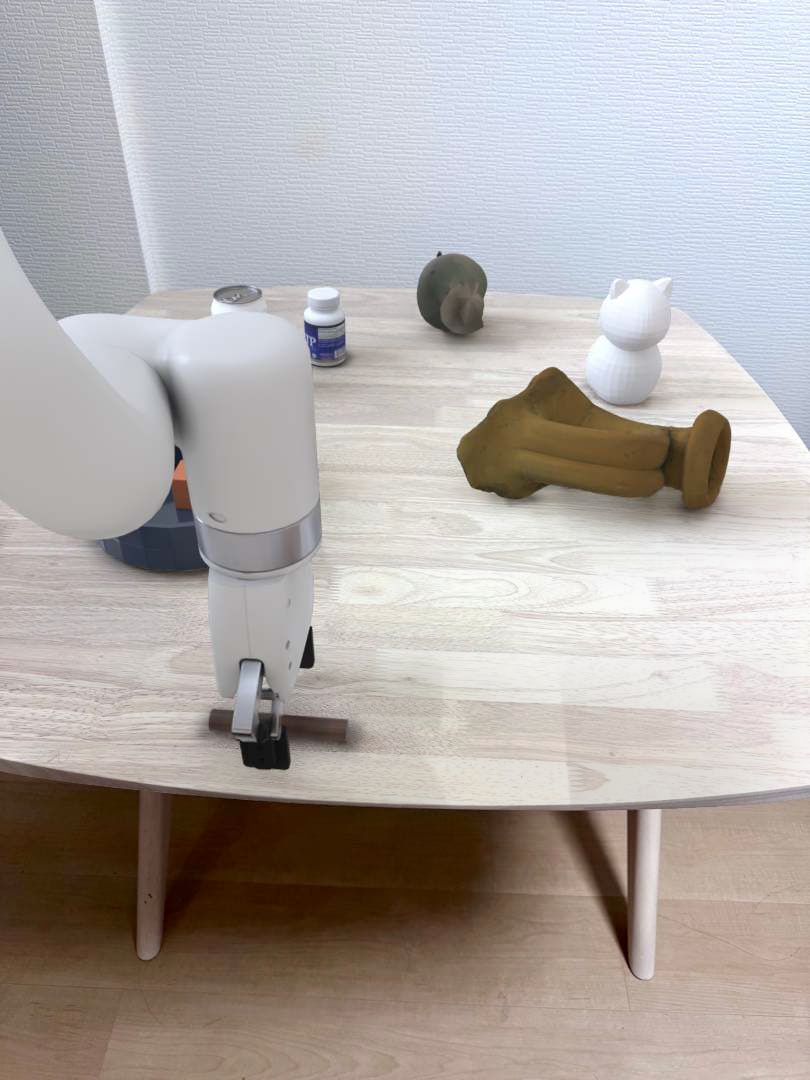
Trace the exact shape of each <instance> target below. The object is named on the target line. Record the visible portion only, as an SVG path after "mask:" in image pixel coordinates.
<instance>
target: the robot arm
mask: <svg viewBox="0 0 810 1080" xmlns="http://www.w3.org/2000/svg"><path fill="white" fill-rule="evenodd" d="M2 229H3V228H2V227H1V226H0V501H2V502H3V503H5V505H7V506H8V507H9V508H11V509H12V510H14V511H15V512H16V513H18V514H19V515H21V516H22V517H24V518H26V519H28V520H29V521H31V522H32V523H34V524H36V525H37V526H40V527H41V528H43V529H45V530H49V531H51V532H54V533H56V534H59V535H61V536H66V537H70V538H73V539H77V540H79V539H80V540H88V541H96V540H99V539H111V538H115V537H118V536H122V535H125V534H127V533H130V532H132V531H134V530H136V529H138V528H139V527H141V526H142V525H143V524H145V523H146V522H147V521H149V520H150V519H151V518H152V517H153V516H154V515H155V514H156V513H157V511H158V510H159V509H160V508H161V506H162V504H163V503H164V501H165V499H166V497H167V495H168V493H169V491H170V487H171V484H172V481H173V476H174V458H175V451H174V444H175V445H176V446H178V447H179V448H180V450H181V452H182V456H183V462H184V468H185V473H186V479H187V484H188V490H189V496H190V501H191V506H192V511H193V517H194V523H195V528H196V534H197V540H198V546H199V552H200V555H201V557H202V559H203V560H204V562H205V563H206V564H207V565H208V566H209V567H210V568H208V580H207V581H208V582H207V607H208V608H207V609H208V624H209V635H210V646H211V653H212V654H211V655H212V662H213V670H214V672H213V673H214V678H215V685H216V691H217V692H218V694H219V696H220V697H221V698H223V699H234V698H235V703H234V709H233V710H234V715H233V721H232V733H231V735H232V736H233V737H234V738H235V740H236V742H238V743H239V747H240V753H241V759H242V764H243V766H245V767H246V768H253V769H256V770H261V771H270V770H277V771H287V770H289V769H290V767H291V763H292V758H291V750H290V749H291V748H290V742H289V741H290V740H289V737H288V731H287V726H284V725H282V714H284V713H283V712H284V701H286V700H287V699H288V698H289V697H290V696H291V695H292V694H293V692H294V689H295V685H296V682H297V678H298V675H299V670H300V669H304V670H309V669H312V668H314V667H315V662H316V657H315V643H314V630H313V625H311V623H312V618H313V614H314V605H315V582H314V581H315V579H314V567H313V559H314V558H315V557H316V556H317V554H318V553H319V551H320V549H321V547H322V543H323V523H322V509H321V493H320V492H321V491H320V481H319V480H320V479H319V477H320V476H319V459H318V443H317V427H316V413H315V412H316V411H315V398H314V397H315V396H314V382H313V381H314V380H313V368H312V367H313V364H312V363H311V356H310V350H309V347H308V344H307V341H306V339H305V334H303V333H302V332H301V330H300V329H299V328H298V327H297V326H296V325H295V324H293V323H292V322H290V321H289V320H287V319H285V318H283V317H281V316H278V315H275V314H271V313H268V314H267V313H261V312H248V311H240V312H227V313H220V314H215V315H212V314H211V315H207V316H204V317H200V318H198V319H176V318H160V317H151V316H139V315H130V314H119V313H99V312H97V313H95V312H94V313H92V312H91V313H79V314H74V315H70V316H67V317H63V318H60V319H59V320H57V319H56V318H55V316H54V314H52V313H51V311H50V309H49V308H48V307H47V305H46V304H45V303H44V301H43V299H42V298H41V296H40V295H39V294H38V292H37V291H36V289H35V288H34V286H33V285H32V284H31V282H30V280H29V278H28V276H27V275H26V273H25V272H24V269H23V268H22V265H20V263H19V262H18V260H17V258H16V256H15V254H14V252H13V250H12V247H11V245H10V244H9V241H8V240H7V238H6V236H5V234H4V232H3V230H2ZM264 678H265V682H266V684H267V686H268V687H264V686H263V683H264ZM235 696H236V697H235ZM262 700H263V701H271V707H270V709H271V710H270V713H271V719H258V712H260V711H259V710H260V704H261V701H262Z"/></svg>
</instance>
